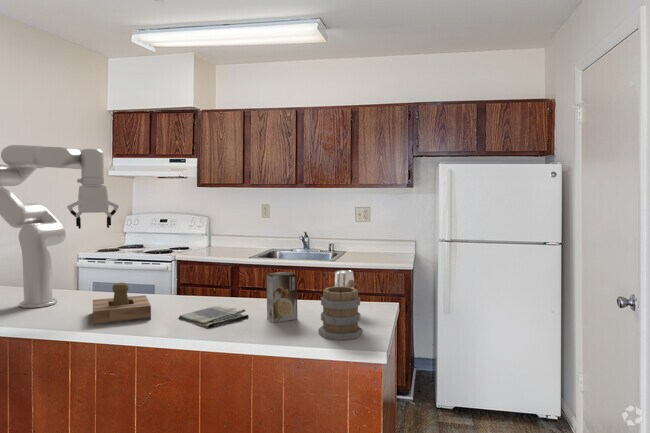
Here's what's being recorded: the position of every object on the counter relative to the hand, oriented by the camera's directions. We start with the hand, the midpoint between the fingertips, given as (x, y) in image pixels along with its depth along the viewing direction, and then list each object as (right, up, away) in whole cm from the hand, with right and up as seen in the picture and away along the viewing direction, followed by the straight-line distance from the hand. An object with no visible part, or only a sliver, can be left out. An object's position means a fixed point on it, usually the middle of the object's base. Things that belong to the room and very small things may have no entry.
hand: (94, 227), depth 179 cm
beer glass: (+94, -31, -3) cm, 99 cm away
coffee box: (+72, -32, -13) cm, 79 cm away
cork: (+15, -30, -10) cm, 35 cm away
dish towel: (+48, -32, -12) cm, 59 cm away
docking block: (+15, -31, -10) cm, 36 cm away
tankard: (+93, -32, -26) cm, 102 cm away
